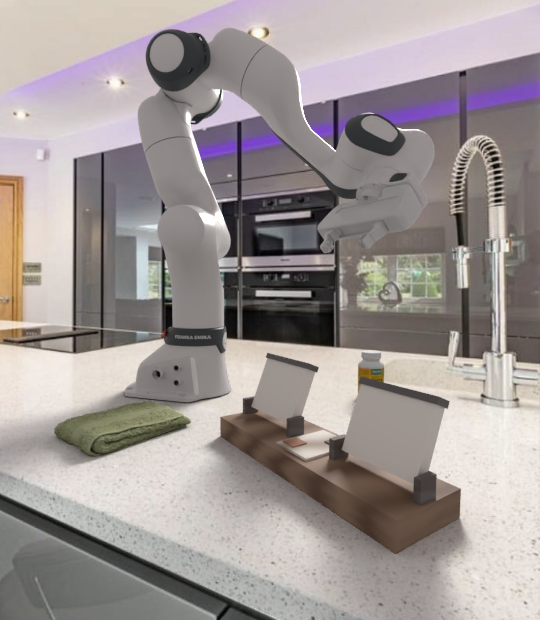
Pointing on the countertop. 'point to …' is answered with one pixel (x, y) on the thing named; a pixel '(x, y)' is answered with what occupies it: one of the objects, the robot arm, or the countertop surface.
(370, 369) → the supplement bottle
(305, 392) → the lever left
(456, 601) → the countertop surface
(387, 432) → the grey flat panel
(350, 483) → the switch base
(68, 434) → the washcloth
